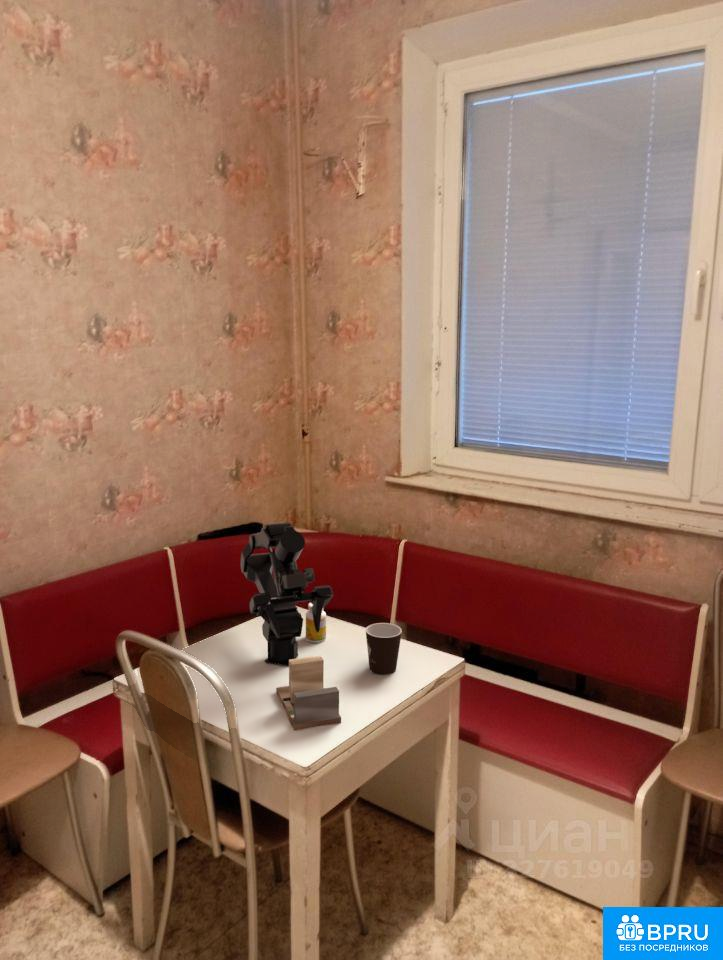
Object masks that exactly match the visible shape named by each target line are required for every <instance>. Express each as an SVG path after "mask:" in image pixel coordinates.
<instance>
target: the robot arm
mask: <svg viewBox="0 0 723 960" xmlns="http://www.w3.org/2000/svg"><path fill="white" fill-rule="evenodd" d="M305 544H306V540H305V537H304V536H303V535H302V534H301V533H300V532H299V531H297V530H296V529H295V527H294V526H292V524H291V522H288V521H287V522H279V523H277V522H276V523H266V524H264V525H263V526H262V528H261V530H260V532H257V533H252V534H250V535H249V538H248V543H247V544H246V545H245V547H244V548H243V549H242V550H241V555H240V564H239V565H240V570H241V573H242V574H243V575H244V576H245V578H246V580H247V581H250V582H253V583H254V584H255V585H256V588H257V590H258V592H259V593H254V594H253V596H252V597H251V599H250V600H249V601H250V602H249V611H250V614H252V615H254V614H256V617H261V618H262V619H263V620H264V621H263V623H262V625H261V630H262V636H263V637H264V639H265V640H266V642H267V657H266V659H265V660H264V663H265V664H266V663H267V664H270V665H271V664H273V665H279V666H280V665H281V666H285V667H286V666H287V667H289V660H290V659H297V658H299V657H298V656H299V653H298V652H299V651H298V649H299V648H298V647H299V645H298V644H299V643H298V641H297V639H296V638H297V637H298V638H299V637H301V636H302V633H303V632H302V631H303V625H304V624H303V623H304V618H303V617H302V614H301V612H299V610H298V607H297V606H296V603H303V602H310V603H312V604H313V606H312V608H311V609H312V614H313V620H314V625H315V629H316V632H319V630H320V621H321V613H322V608H324V609H325V607H326V606H327V605H328V604H329V603H330V602H331V600H332V598H333V597H334V592H333V589H332V587H331V586H330V585H329V584H326V585H318V586H314V588H313V589H312V590H311V591H310V592H303V591H306V588H308V587H309V585H308V584H309V583H313V582H314V583H315V581H316V580H315V579H316V578H315V573H314V569H313V568H312V567H310V568H309V567H308V568H304V569H303V570H302V572H301V571H300V569H299V568H298V565H297V564H298V563H297V560H298V559H299V557H300V555H301V553H302V551H303V550H304V547H305ZM272 548H275V549H274V550H273V549H272ZM257 549H267V551H268V552H262V553H254V551H255V550H257Z"/></svg>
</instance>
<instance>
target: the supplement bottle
mask: <svg viewBox="0 0 723 960" xmlns="http://www.w3.org/2000/svg"><path fill="white" fill-rule="evenodd" d="M312 606H313V604H312V603H311V602H309V603H308V605H307V607H308V610H307V612H305V641H307V642H309V643H312V644H314V643H315V644H319V643H322V642H324V641H326V640H327V613H326V611H324V609H325V607H324V608H322V613H321V621H320V630H319V632H316V629H315V625H314V620H313V614H312V609H311V608H312Z"/></svg>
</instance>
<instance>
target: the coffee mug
mask: <svg viewBox="0 0 723 960" xmlns="http://www.w3.org/2000/svg"><path fill="white" fill-rule="evenodd" d="M402 632H403V630H402V628H401V627H400V626H398V625H397V624H393V623H388V622H378V623H377V622H376V623H372V624H369V625H368V626H366V628H365V635H366V636H365V637H366V645H367V647H366V648H367V656H368V657H367V658H368V667H369V671H370V672H371V673H373V674H375V675H378V676H389V675H392V674H394V673H395V672H396V671H397V667H398V665H397V664H398V658H399V653H400V646H401V638H402Z"/></svg>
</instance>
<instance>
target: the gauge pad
mask: <svg viewBox="0 0 723 960" xmlns="http://www.w3.org/2000/svg"><path fill="white" fill-rule="evenodd" d="M324 669H325V668H324V658H323V657H322V656H321V655H313V656H304V657H297V658H296V659H290V660H289V666H288V686H289V697H288V698H283V702H284V701H291V703H292V704H294V693H298V692H304V691H311V690H317V689H323V688H324V671H325V670H324Z"/></svg>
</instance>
